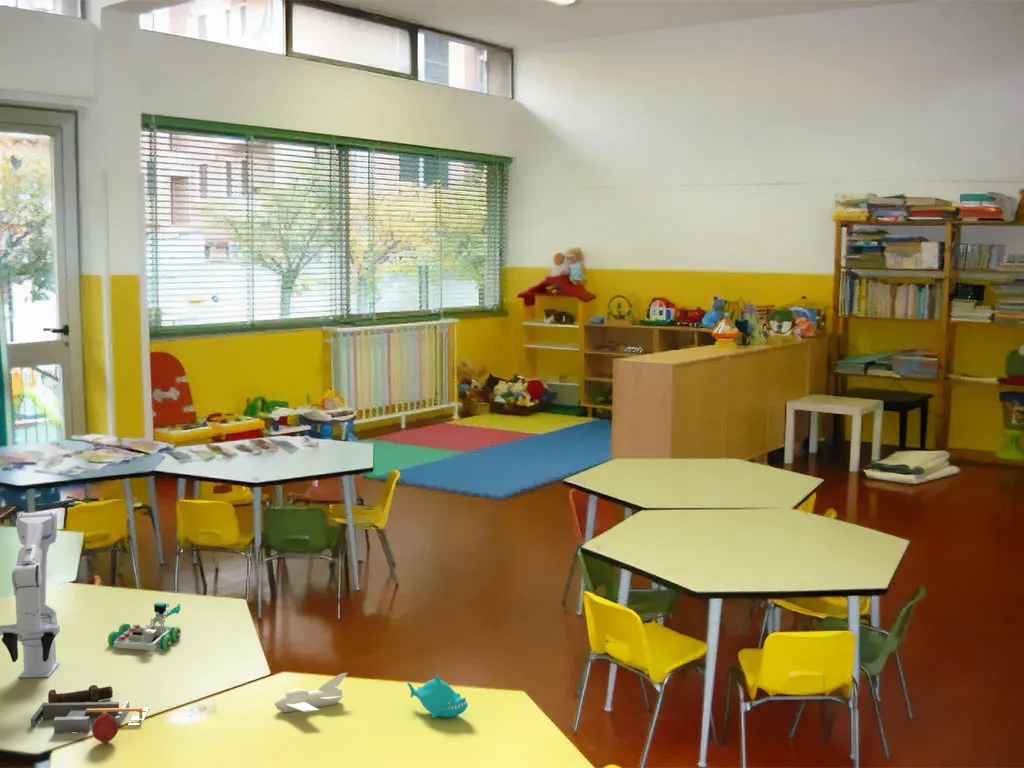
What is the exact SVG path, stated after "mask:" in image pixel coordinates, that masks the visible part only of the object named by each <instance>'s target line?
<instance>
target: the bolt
mask: <svg viewBox="0 0 1024 768" xmlns="http://www.w3.org/2000/svg"><path fill="white" fill-rule="evenodd" d="M113 692H114V691H113V687H112V686H111V685H110V686H109V685H108V686H103V687H98V685H96V684H92V685H90V686H89V687H88V689H84V690H77V691H70V692H64V693H63V692H61V693H57V692H56V689H54V688H53V689H50V690H49V691H48V693H47V696H48V697H47V700H48V701H47V703H82V702H100V701H104V700H111V699H112V698H113V694H114V693H113Z"/></svg>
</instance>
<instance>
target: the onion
mask: <svg viewBox="0 0 1024 768" xmlns="http://www.w3.org/2000/svg"><path fill="white" fill-rule="evenodd" d="M118 731H119V726H118V722H117V720H116V719H115V717H113V716H112V715H110V714H108V713H107V712H103V713H102V714H101V716H99V717H98V718H96V719H95V720H94V722H93V724H92V727H91V732H92V736H93V737H94V738H95V740H97V741H99V742H100V743H102V744H105V745H106V744H108V743H109V742H111V741H112V740H113V739H114V738H115V736H116V735H117V734H118Z"/></svg>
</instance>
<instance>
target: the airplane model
mask: <svg viewBox="0 0 1024 768" xmlns="http://www.w3.org/2000/svg"><path fill="white" fill-rule="evenodd" d="M347 675H348V672H344V673H339V674H337V675H336V676H335V677H333V678H332V679H330V680H328V681H327V682H326V683H324V684H322V685H321V686H320V687H319V688H318V689H317V690H310V691H309V690H308V689H305V688H293V689H289V690H288V691H287V692H286V693H285V694H284V695H283V696H281V697H280V698H278V699H277V700H275V701H274V705H275V707H276V710H279V711H281V712H283V713H286V714H287V713H292V712H297V711H301V712H303V713H308V712H314V711H319V710H320V709H319V708H320V707H325V706H332V705H335V704H337V703H338V702H339V701H341V700H342V698H343V697H344V695H343V690H342V687H339V685H340V684H341V683H342V681H343V680H344V679H345V678H346V676H347Z"/></svg>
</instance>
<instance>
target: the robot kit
mask: <svg viewBox="0 0 1024 768" xmlns="http://www.w3.org/2000/svg"><path fill="white" fill-rule="evenodd" d="M169 607H170V604H169V603H165V602H155V603H154V605H153V608H154V609H153V611H154V612H155V617H154V618H150V620H149V621H150V623H149V624H146V625H145V626H141V625H140V624H138V623H135V624H133V625H132V626H131V624H129V623H126V622H123V623H121V624H120V626H119V628H118V631H115V630H113V631H111V632H110V633H109V634H108V638H107V643H108V645H109V646H110V647H114V648H124V649H134V650H135V649H136V650H148V651H149V650H150V651H154V650H155V649H156V648H157V647H158V646H159V650H163V651H168V650H170V647H171V645H172V642H173V643H177V642H178V641H179V640H180V638H181V634H182V632H181V628H180V627H178V626H176V627H175V626H172V627H171V626H168V625H167V626H165V623H166V618H168V617H169V616H172V615H174V614H176V615H177V614H179V612H180V611H181V603H178V604H177V606H175V607H173V608H172V609H167V608H169ZM157 622H158V624H159V625H156V624H157Z"/></svg>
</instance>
